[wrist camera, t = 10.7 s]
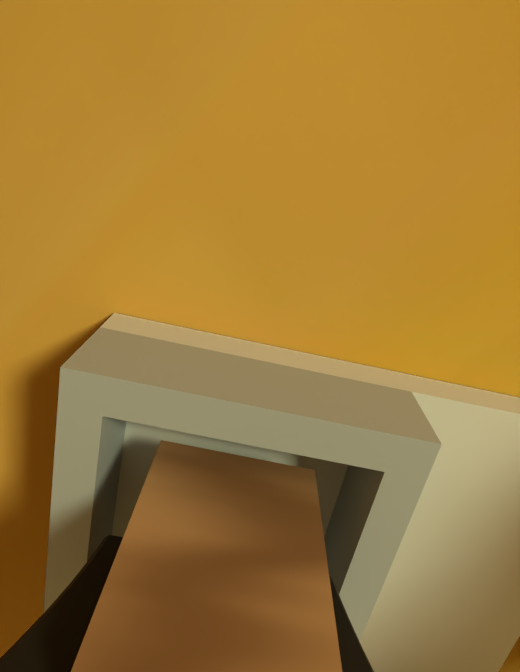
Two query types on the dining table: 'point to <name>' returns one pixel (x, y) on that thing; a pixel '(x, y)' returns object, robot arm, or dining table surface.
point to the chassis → (330, 469)
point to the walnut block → (217, 572)
